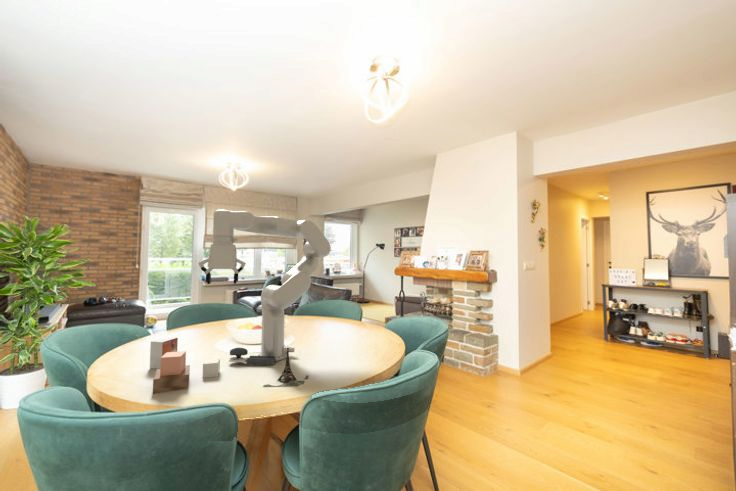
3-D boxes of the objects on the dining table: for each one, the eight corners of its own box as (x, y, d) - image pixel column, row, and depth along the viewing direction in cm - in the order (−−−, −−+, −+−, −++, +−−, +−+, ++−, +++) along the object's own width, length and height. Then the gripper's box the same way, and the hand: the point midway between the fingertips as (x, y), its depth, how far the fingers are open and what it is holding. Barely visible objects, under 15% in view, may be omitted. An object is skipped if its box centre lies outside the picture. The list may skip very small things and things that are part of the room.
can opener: (226, 365, 130) (226, 350, 131) (231, 361, 135) (232, 346, 136) (272, 366, 130) (273, 351, 130) (276, 362, 135) (276, 347, 135)
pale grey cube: (219, 371, 124) (219, 358, 124) (217, 376, 119) (217, 362, 119) (205, 372, 122) (205, 359, 122) (202, 377, 117) (202, 364, 118)
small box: (161, 369, 125) (162, 342, 125) (149, 368, 126) (150, 341, 126) (177, 362, 133) (178, 337, 133) (165, 361, 134) (166, 336, 134)
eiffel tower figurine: (261, 388, 109) (262, 349, 110) (268, 377, 120) (268, 341, 120) (306, 387, 111) (306, 348, 111) (308, 376, 121) (309, 340, 121)
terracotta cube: (185, 368, 114) (185, 351, 114) (180, 374, 108) (180, 356, 108) (166, 369, 112) (166, 352, 112) (160, 375, 106) (160, 357, 107)
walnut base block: (189, 379, 117) (189, 365, 117) (188, 389, 108) (188, 374, 108) (156, 383, 112) (156, 369, 112) (152, 395, 103) (153, 379, 103)
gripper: (246, 241, 135) (245, 282, 135) (201, 240, 130) (200, 283, 130) (245, 241, 128) (244, 284, 128) (197, 240, 123) (196, 284, 123)
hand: (222, 283), depth 129 cm, fingers open, 9 cm apart
